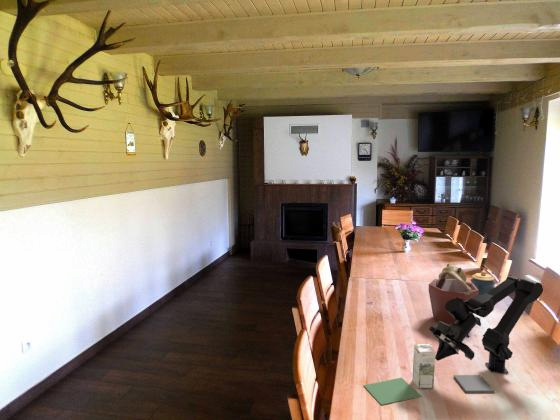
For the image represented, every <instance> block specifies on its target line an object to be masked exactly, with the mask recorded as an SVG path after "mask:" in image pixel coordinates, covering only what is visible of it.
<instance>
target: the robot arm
mask: <svg viewBox="0 0 560 420" xmlns="http://www.w3.org/2000/svg"><path fill="white" fill-rule="evenodd" d="M543 292H544V288H543V285H542V283H541V282H540V281H535V280H534V279H533V280H532V279H529V278H526V277H523V278H519V277H517V276H513V275H509V276H507V277H506V279H505V280H503V281H502V282H500V283H499V284H498V285H495V288H493V289H492V290H490V291H489V292H487V293H486V294H482V295H477V296H474V297H472V298H470V299H469V300H467V301H463V300H462V298H460V297H457V298H456V299H451V300H450V301H448V302H447V303H446V305H445V309H446V310H447V311H448V312H449V313H450V314H451V315H452V317H453V318H454V319H455V320H457V321H456V322H455V323H453V322H452V323H450V324H449V325H448V324H446V323H444V322H441V321H439V322H437V324H436V325H431V326H429V329H428V331H429V332H430V333H431V334H432V335H433V336H434V337H435V338H436V339H437V340H438V346H437V347H438V348H437V351H436V353H435V361H437V362H438V361H441V360H443V359H445V358H448V357H451V356H453V355H459V351H460V352H462V353H463V354H464V357H465V358H467V359H468V360H470V361H472V360H473V359H474V358H475V351H474V350H473V349H472V348H471V347H470V346H469V345H468V344H465V343H464V342H463V341H464V340H465V339H469V338H470V335H469V334H470V333H471V331H472V330H473V329H474V327H475V326H477V327H478V326H479V327H481V326H482V322H481V318H484V319H485V318H486V317H488V316H489V315H490V314H491V313H492V312H493V311H494V308H495V306H496V305H497V304H498V303H499V302H501V301H502V300H504V299H505V298H507V297H508V296H510V295H511V294H512V293H514V294H515V295H514V298H513V299H512V301H511V302H510V304H509V305H508V308H507V309H506V311H504V314H503V315H502V317H501V319H500V320H499V322H498V323H497V324H496V326H495V327H494V328H490V327H488V328H487V329H486V330H485V332H484V333H483V334H482V338H481V342H482V343H481V344H482V346H483V350H484V351H487V352H488V362H484V363H485V366H486V368H488V371H489V372H490V373H498V374H509V371H508V369H507V367H506V361H508V360H510V359H511V358H512V357H513V354H514V353H513V351H512V350H511V349H510V348H509V345H510V334H511V333H512V331H513V329H514V328H515V326H516V325H517V323H518V321H519V320H520V318H521V317H522V314H523V313H524V312H525V310H526V309H527V307H528V306H529V304H531V303H534V302H536V301H537V300H538V299H539V298H540V296H541V295H542V294H543ZM469 312H472V313H473V314H472V313H469ZM475 315H476V316H475ZM478 316H479V317H478Z"/></svg>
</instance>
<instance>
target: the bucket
mask: <svg viewBox="0 0 560 420" xmlns="http://www.w3.org/2000/svg"><path fill="white" fill-rule="evenodd" d="M441 273H442V272H441ZM448 274H451V275H452V276H453V277H454V278H455V279H446V276H447V275H448ZM428 295H429V299H430V300H429V302H430V305H431V306H430V308H431V313H432V317H433V318H432V319H433V321H435V322H437V323H438V322H439V321H441V322H444V323H446V324H448V325H449V324H450V323H452V322H453V323H455V322H456V321H457V320H455V319H454V318H453V317H452V315H451V314H450V313H449V312H448V311H447V310H446V309H445V305H446V303H447V302H448V301H450V300H451V299H456V298H457V297H460V298H462V300H463V301H467V300H469V299H470V298H472V297H474V296H477V295H479V290H478V288H477V287H476V286H475V285H474V284H473V283H471V282H469V281H466V282H465V281H463V280H462V279H461V278H460V277H459V276H458V275H457V274H456V273H455V272H453V271H451V272H444V273H442V274H441V276H440V279H439V278H434V279H433V280H432V281H431V282H429V283H428ZM469 313H472V312H469ZM472 314H473V315H474V313H472Z"/></svg>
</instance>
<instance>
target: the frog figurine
mask: <svg viewBox="0 0 560 420" xmlns="http://www.w3.org/2000/svg"><path fill="white" fill-rule="evenodd" d="M451 271H453V272H455V273H456V274H457V275H458V276H459V277H460V278H461V279H462V280H463V281H465V282H467V279H468V278H467V274H466V272H465V271H464V270H463V269H462V267H457V266H454V265H451V264H450V263H447V265H446V266H445V267H443V268H442V271H441V272H440V273H439V274H438V279H440V276H441V274H442V273H444V272H451ZM446 279H455V278H454V277H453V276H452V275H451V274H448V275H447V276H446Z"/></svg>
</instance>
